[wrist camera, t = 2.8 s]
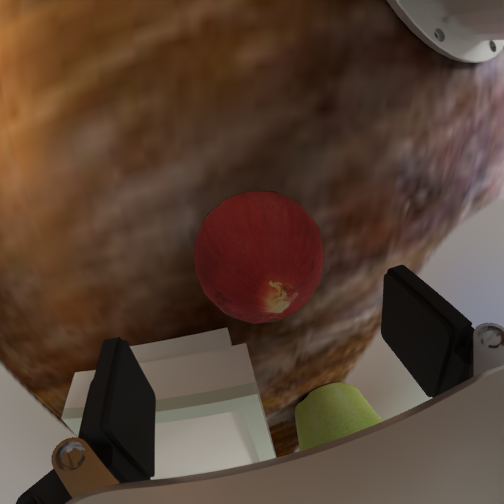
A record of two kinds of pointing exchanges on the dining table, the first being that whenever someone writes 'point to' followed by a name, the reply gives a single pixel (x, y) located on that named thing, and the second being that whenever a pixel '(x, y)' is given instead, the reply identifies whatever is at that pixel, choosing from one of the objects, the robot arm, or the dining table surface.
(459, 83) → the dining table surface
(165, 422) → the pedestal
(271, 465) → the robot arm
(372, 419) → the plant pot
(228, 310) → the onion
